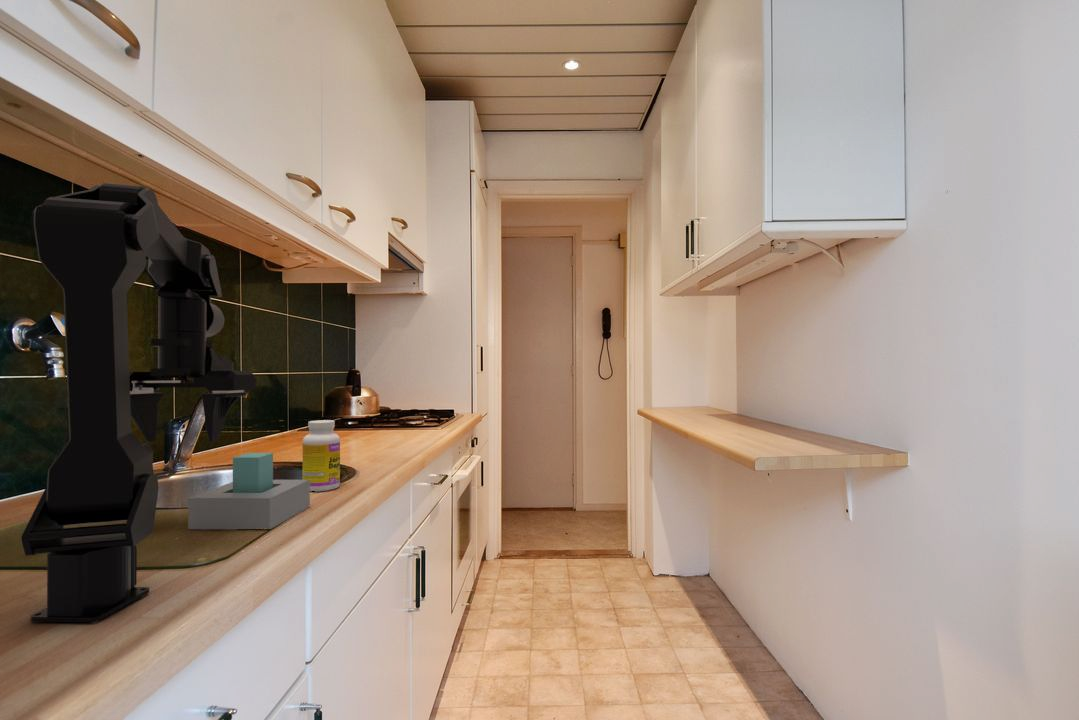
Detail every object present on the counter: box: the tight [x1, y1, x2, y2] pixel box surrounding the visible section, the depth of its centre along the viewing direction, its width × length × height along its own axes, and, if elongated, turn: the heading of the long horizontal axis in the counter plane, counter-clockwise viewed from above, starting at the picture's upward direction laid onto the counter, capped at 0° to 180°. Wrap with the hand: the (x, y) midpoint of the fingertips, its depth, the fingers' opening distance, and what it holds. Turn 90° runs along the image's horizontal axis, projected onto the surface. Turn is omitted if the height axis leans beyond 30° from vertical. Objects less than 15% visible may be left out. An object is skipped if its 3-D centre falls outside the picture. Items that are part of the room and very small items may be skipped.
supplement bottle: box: [301, 419, 341, 493], centre depth 100 cm, size 7×7×13 cm
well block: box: [187, 479, 311, 531], centre depth 81 cm, size 12×12×4 cm
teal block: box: [232, 452, 274, 493], centre depth 81 cm, size 4×4×9 cm
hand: (182, 441), depth 75 cm, fingers open, 9 cm apart
